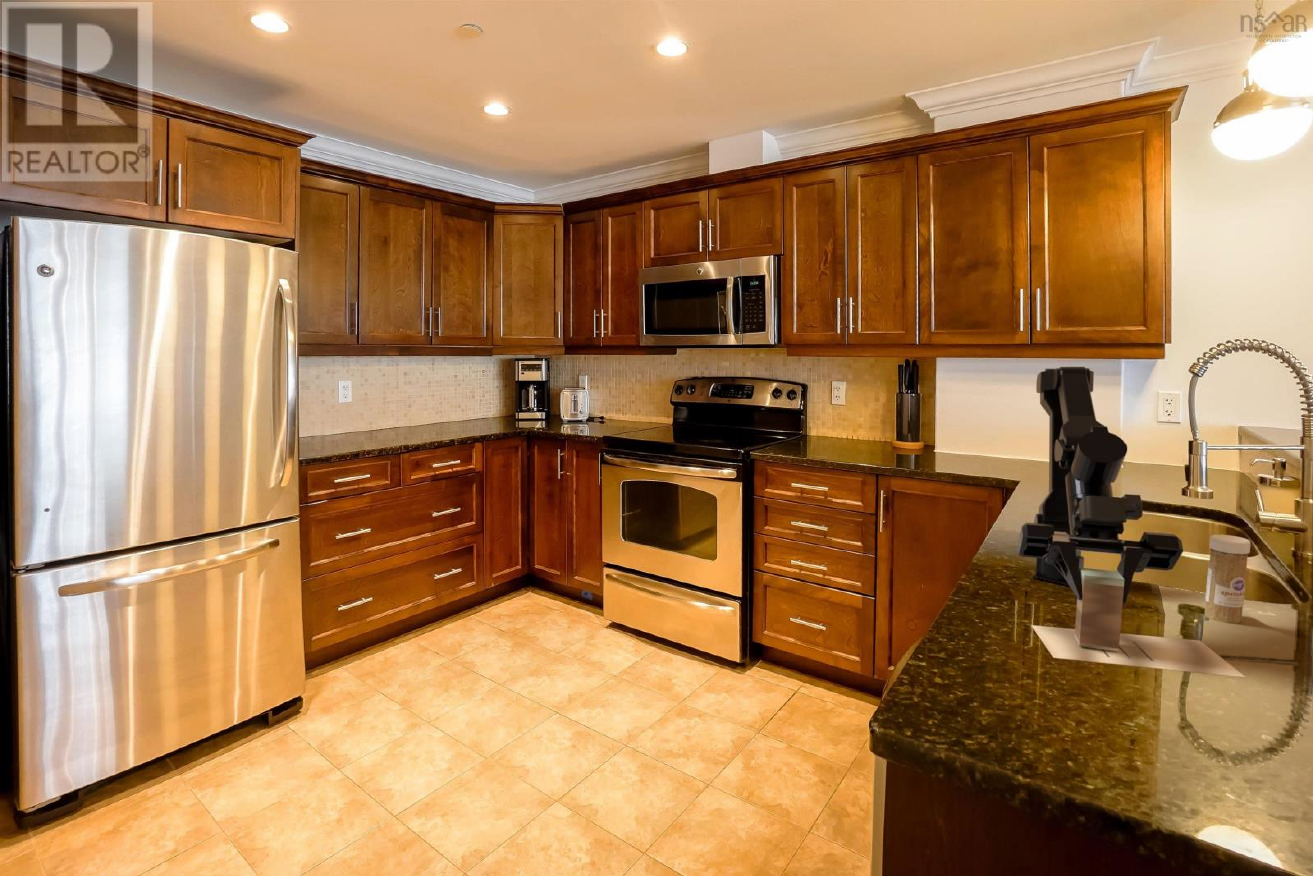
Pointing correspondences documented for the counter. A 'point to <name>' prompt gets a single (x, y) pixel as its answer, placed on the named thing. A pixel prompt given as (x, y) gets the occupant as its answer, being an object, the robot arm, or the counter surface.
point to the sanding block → (1099, 609)
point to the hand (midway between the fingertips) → (1101, 601)
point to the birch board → (1139, 652)
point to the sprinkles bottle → (1226, 578)
